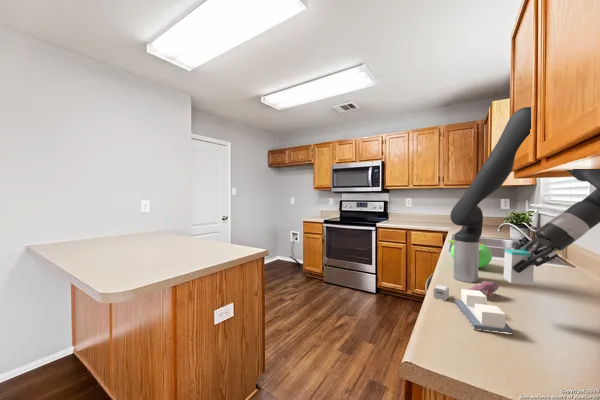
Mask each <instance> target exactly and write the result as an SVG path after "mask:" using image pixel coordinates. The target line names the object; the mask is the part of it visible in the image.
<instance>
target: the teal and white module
mask: <svg viewBox="0 0 600 400" xmlns="http://www.w3.org/2000/svg"><path fill="white" fill-rule="evenodd" d="M527 252H528V251H526V250H514V248H513V249H511V248H504V261H503V279H504V280H505V281H506V282H508V283H510V284H515V285H527V286H534V269H535V268H534V267H535V265H533V266H529V267H527V268H526V269H524V270H523V271H522V272H520V273H517V272H516V271H515V270H514V269H513V268H512V267H513V266H514V265H516V264H517V263H518V262H520V261H521V260H524V258H525V257H526V256H527V255H528V253H527Z"/></svg>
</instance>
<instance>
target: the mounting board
mask: <svg viewBox="0 0 600 400" xmlns="http://www.w3.org/2000/svg"><path fill="white" fill-rule="evenodd" d="M460 290H461V291H460V292H461V293H460V299H459V300H458V299H455V300H454V305H455V304H456V305H457V306H458V307H457V306H456V305H455V306H456V307H457V309H458V308H459V309H460V310H461V311H460V310H459V309H458V310H459V311H460V313H461V312H462V313H463V314H464V315H465V316H466V318H467V319H468V320H469V322H470V323H471V324H472V326H473V327H474V328H475V329H481V330H489V331H498V332H508V333H514V332H513V331H514V329H513V328H512V327H511V326H509V325H508V324H507V322H506V313H505V312H504V311H502V310H501V308H499V307H498V306H497V305H491V304H487V301H488V300H487V297H488V296H486V295H484V294H483V293H482V292H481V291H476V290H468V289H464V288H460ZM462 313H461V314H462ZM463 314H462V315H463ZM464 315H463V316H464ZM466 318H465V319H466ZM467 319H466V320H467ZM469 322H468V323H469ZM472 326H471V327H472Z"/></svg>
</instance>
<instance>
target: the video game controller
mask: <svg viewBox="0 0 600 400" xmlns="http://www.w3.org/2000/svg"><path fill="white" fill-rule="evenodd" d="M499 287H500V286H499V285H498V284H497V283H495V282H493V281H487V280H486V281H485V280H484V281H482V282H479V283H477V284H474V286H471V287H469V288H468V289H467V290H476V291H481V292H482V293H483V294H484V295H485V296H486V297H488V296H491V294H493V293H495V292H496V291H498V289H499Z"/></svg>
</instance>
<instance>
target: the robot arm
mask: <svg viewBox="0 0 600 400" xmlns="http://www.w3.org/2000/svg"><path fill="white" fill-rule="evenodd" d="M531 107H532V106H525V107H521V108H520V109H517V110H516V111H515V112H514V113H513V114H512V115H510V118H509V119H508V121H507V123H506V125H505V126H504V129H503V131H502V133H501V134H500V137H499V139H498V141H497V143H496V145H495V146H494V147H493V149H492V151H491V152H490V154H489V155H488V157H487V159H486V160H485V162H484V163H483V165H482V166H481V168H480V169H479V171H478V172H477V174H476V176H475V177H474V179H473V180H472V182H470V184H469V186H468V188H467V189H466V191H465V192H464V194H463V195H462V196H461V197H460V199H459V200H458V201H457V202H456V203H455V205H454V206H453V208H452V210H451V212H450V215H449V216H450V220H451V221H450V222H452V223H453V224H454V225H456V226H461V228H460V230H459V231H457V232H455V233H454V236H453V237H454V239H453V241H454V259H453V278H454V279H455V280H457V281H461V282H466V283H477V282H479V268H480V267H479V242H480V238H481V236H482V235H483V234H482V232H483V223H484V214H483V211H482V209H481V207H479V206H478V205H479V204H480V203H481V202H482V201H483V200H485V199H486V198H487V197H490V195H491V194H493V193H494V192H495V191H497V190H498V189H500V187H502V186H503V184H504V183H505V182H506V180H507V179H508V177H509V176H510V174H511V173H512V170H513V168H514V166H515V165H514V164H515V159H516V154H517V153H518V150H519V148H520V147H521V146H522V144H523V142H525V140H526V139H527V137H529V136H530V135H529V134H530V129H531ZM566 171H567V172H568V173H569V174H570V175H571V176H572V177H574V178H575V179H576V180H577V181H580V182H587V183H589V184H590V185H591V186H593V187H594V188H595V190H593V191H592V192H591V193H590V194H589V195H588V196H586V197H585V198H583V199H582V200H580V201H577V202H576V203H574V204H573V205H570V207H568V208H567V209H566V210H564V211H563V212H561V213H560V214H558V215H556V216H554V217H553V218H552V219H551V220H549V221H548V222H546V223H545V224H543V225H542V226H541V227H539V228H538V229H537V230H535V231H534V236H536V237H535V238H533V239H531V240H530V241H527V240H526V239H523V240H521V241H520V242H519V243H518V244H517V245H516V246H515V247H514V248H513V249H514V250H526V251H528V252H527V253H528V255H527V256H526V257H525V258H524V260H521V261H520V262H518V263H517V264H516V265H514V266H513V267H512V268H513V269H514V270H515V271H516V272H517V273H520V272H522V271H523V270H524V269H526V268H527V267H529V266H533V265H534V267H540V266H542V265H543V264H546V263H548V262H551V261H552V260H554V259H556V258H558V257H559V254H558V253H557V252H556V251H558V252H561V251H563V250H566V248H567V247H569V246H570V245H572V244H573V243H575V242H576V241H577V240H579V239H580V238H582V237H583V236H584V235H585V234H586V233H587V232H589V231H590V230H591V229H592V228H594V227H596V226H597V225H598V224H600V169H573V170H566Z"/></svg>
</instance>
